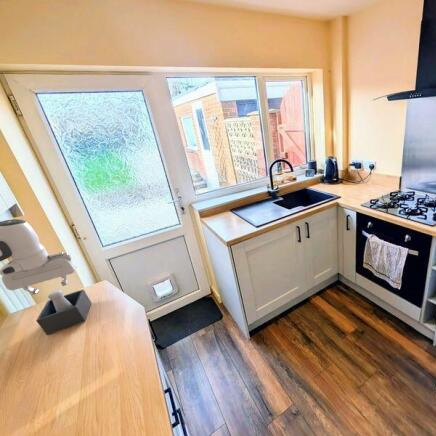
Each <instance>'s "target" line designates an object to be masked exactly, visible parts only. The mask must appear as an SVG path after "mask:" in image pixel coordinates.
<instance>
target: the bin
mask: <svg viewBox="0 0 436 436" xmlns="http://www.w3.org/2000/svg"><path fill="white" fill-rule="evenodd" d="M62 296H63V297H64V298H66V299H67V300H68V301H69V302H70V303H71V304H72V305H73V306H74V307H72V308H69V309H66V310H63V311H60V312H56V309H55V306H54V303H53V300H50V299H49V300H47V301H46V303H45V304H44V306H43V308H42V310H41V311H40V313H39V315H38V316H37V318H36V322H37V324H38V326H39V327H40V328H41V329H42V331H43V332H44V334H45V335H46V336H49V335H52V334H55V333H57V332H60V331H63V330H65V329H69V328H71V327H75V326H77V325H79V324H82V323H85V322H86V320H87V317H88V314H89V313H90V312H89V311H90V308H91V306H92V301H91V299H90V297H89V296H88V293H87V292H86V291H85V289H80V290H78V291H74V292H70V293H67V294H65V295H64V294H63V295H62Z"/></svg>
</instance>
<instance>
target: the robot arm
mask: <svg viewBox="0 0 436 436" xmlns="http://www.w3.org/2000/svg"><path fill="white" fill-rule="evenodd" d="M9 258H10V259H12V260H9V261H8V262H6V263H4V265H3V266H1V268H0V276H1V282H2V283H3V285H4V287H5V289H7V290H9V291H16V290H19V289H23V290H24V291H26V292H29V293H30V294H31V296H35V295H37V294H39V289H38V288H37V287H35V288H34V287H32V286H33V285H37V284H40V283H44V282H47V281H51V280H55V279H59V278H61V279H63V280H61V281H60V284H61V286H62V287H65V286H68V284H69V281H68V276H69V275H72V274H74V273H75V272H76V270H77V265H76V264H75V262H74V260H73V259H72V257H71V255H70V254H69V253H67V252H58V253H54V254H49V253H48V251H47V250H46V247H44V245H42V243H41V242H40V238H39V235H38V234H37V233H36V231H35V230H34V228H33V227H32V226H31V224H29V223H28V222H27V221H26V220H23V219H19V218H18V219H17V218H15V219H13V218H12V219H6V220H2V221H0V262H3V261H5V260H8V259H9Z"/></svg>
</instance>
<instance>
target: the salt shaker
mask: <svg viewBox="0 0 436 436" xmlns="http://www.w3.org/2000/svg"><path fill="white" fill-rule="evenodd" d="M63 296H64V292H63V291H62V290H61V289H56V290H52V291H51V292H50V293H49V294H48V296H47V298H48V299H49V300H53V303H54V306H55V309H56V312H60V311H63V310H66V309H69V308H72V307H74V306H73V305H72V304H71V303H70V302H69V301H68V300H67V299H66V298H64V297H63Z"/></svg>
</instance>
